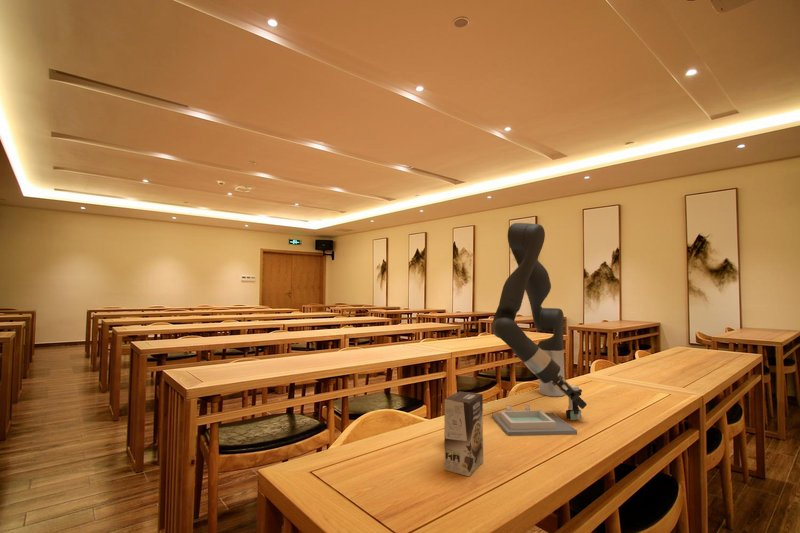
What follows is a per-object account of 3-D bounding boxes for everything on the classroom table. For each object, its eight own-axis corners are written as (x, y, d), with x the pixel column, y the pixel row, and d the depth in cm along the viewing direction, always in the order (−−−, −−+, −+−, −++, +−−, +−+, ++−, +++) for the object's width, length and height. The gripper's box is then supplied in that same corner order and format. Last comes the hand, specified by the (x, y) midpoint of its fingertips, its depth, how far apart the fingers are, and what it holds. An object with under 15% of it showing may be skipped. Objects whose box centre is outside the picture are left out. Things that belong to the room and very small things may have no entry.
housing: (491, 416, 127) (491, 404, 127) (552, 415, 128) (552, 403, 128) (507, 435, 111) (507, 421, 111) (577, 434, 112) (576, 419, 112)
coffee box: (470, 477, 87) (469, 402, 88) (443, 470, 90) (443, 398, 91) (484, 461, 95) (483, 393, 96) (459, 455, 98) (459, 389, 99)
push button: (574, 414, 129) (572, 383, 130) (589, 418, 125) (587, 386, 126) (561, 418, 126) (559, 386, 127) (576, 422, 121) (575, 389, 122)
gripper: (555, 360, 120) (598, 402, 118) (544, 352, 134) (582, 390, 132) (537, 378, 121) (580, 419, 118) (528, 368, 135) (566, 405, 133)
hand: (581, 403), depth 125 cm, fingers closed on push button, 5 cm apart
